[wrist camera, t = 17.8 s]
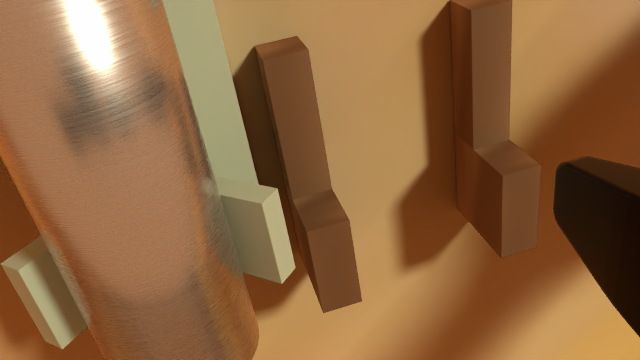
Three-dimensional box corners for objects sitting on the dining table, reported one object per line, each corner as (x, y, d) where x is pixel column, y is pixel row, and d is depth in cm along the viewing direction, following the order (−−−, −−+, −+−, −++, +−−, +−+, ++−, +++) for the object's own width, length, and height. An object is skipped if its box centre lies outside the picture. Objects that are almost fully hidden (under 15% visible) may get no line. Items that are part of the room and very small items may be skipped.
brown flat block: (488, -10, 19) (549, 15, 16) (488, 198, 24) (536, 247, 21) (254, 46, 18) (275, 83, 15) (300, 253, 23) (323, 313, 20)
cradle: (183, -170, 15) (196, -177, 11) (273, 205, 21) (299, 278, 18) (-131, -115, 14) (-230, -102, 10) (60, 264, 20) (42, 355, 17)
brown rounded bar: (-139, -210, 12) (-257, -242, 8) (89, -244, 12) (80, -288, 9) (114, 322, 19) (115, 433, 16) (243, 279, 20) (274, 375, 16)
